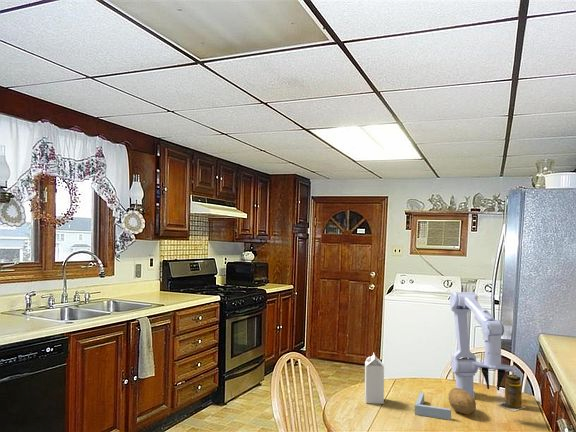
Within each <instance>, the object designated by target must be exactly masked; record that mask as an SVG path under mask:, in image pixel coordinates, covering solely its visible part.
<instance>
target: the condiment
mask: <svg viewBox="0 0 576 432" xmlns="http://www.w3.org/2000/svg"><path fill="white" fill-rule="evenodd" d="M522 399H523V398H522V382H521V376H519V375H516V374H505V382H504V403H500V404H497V406H499V407H500V408H503V409H507V410H510V411H512V412H517V411H519V410H522V409H526V406H524V405H523V404H522V403H523V402H522Z"/></svg>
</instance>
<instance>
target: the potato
mask: <svg viewBox="0 0 576 432" xmlns="http://www.w3.org/2000/svg"><path fill="white" fill-rule="evenodd" d="M448 401H449V402H448V403H449V405H450V407H451V409H453V410H454V411H456V412H457V413H461V414H465V415H469V414H472V413H473V412H474V411H475V409H477V404H476V400H475V397H474V398H473V397H472V396H471V395H470V394H469V393H467V392H466V391H465V390H463V389H460V388H456V387H453V388H451V389H450V390H449V392H448Z"/></svg>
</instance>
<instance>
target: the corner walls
mask: <svg viewBox="0 0 576 432" xmlns="http://www.w3.org/2000/svg"><path fill="white" fill-rule="evenodd" d="M424 403H425V393H424V392H421V391H420V392H419V394H418V397H417V399H416V402H415V404H414V415H415V416H422V417H423V416H424V417H429V418H436V419H441V420H442V419H443V420H448V421H451V420H452V408H448V407H441V406H433V405H426V404H424Z"/></svg>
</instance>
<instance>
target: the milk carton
mask: <svg viewBox="0 0 576 432" xmlns="http://www.w3.org/2000/svg"><path fill="white" fill-rule="evenodd" d="M372 353H373V354H372V355H371V356H368V357H366V359H365V361H364V400H365V404H373V405H374V404H377V405H379V404H381V405H384V404H385V401H384V398H385V393H384V392H385V387H384V386H385V382H384V377H385V375H384V374H385V368H384V364H383V362H382V361H381V360H380V359H379V358H378V357H377V356H376V355H375V352H372Z"/></svg>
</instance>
